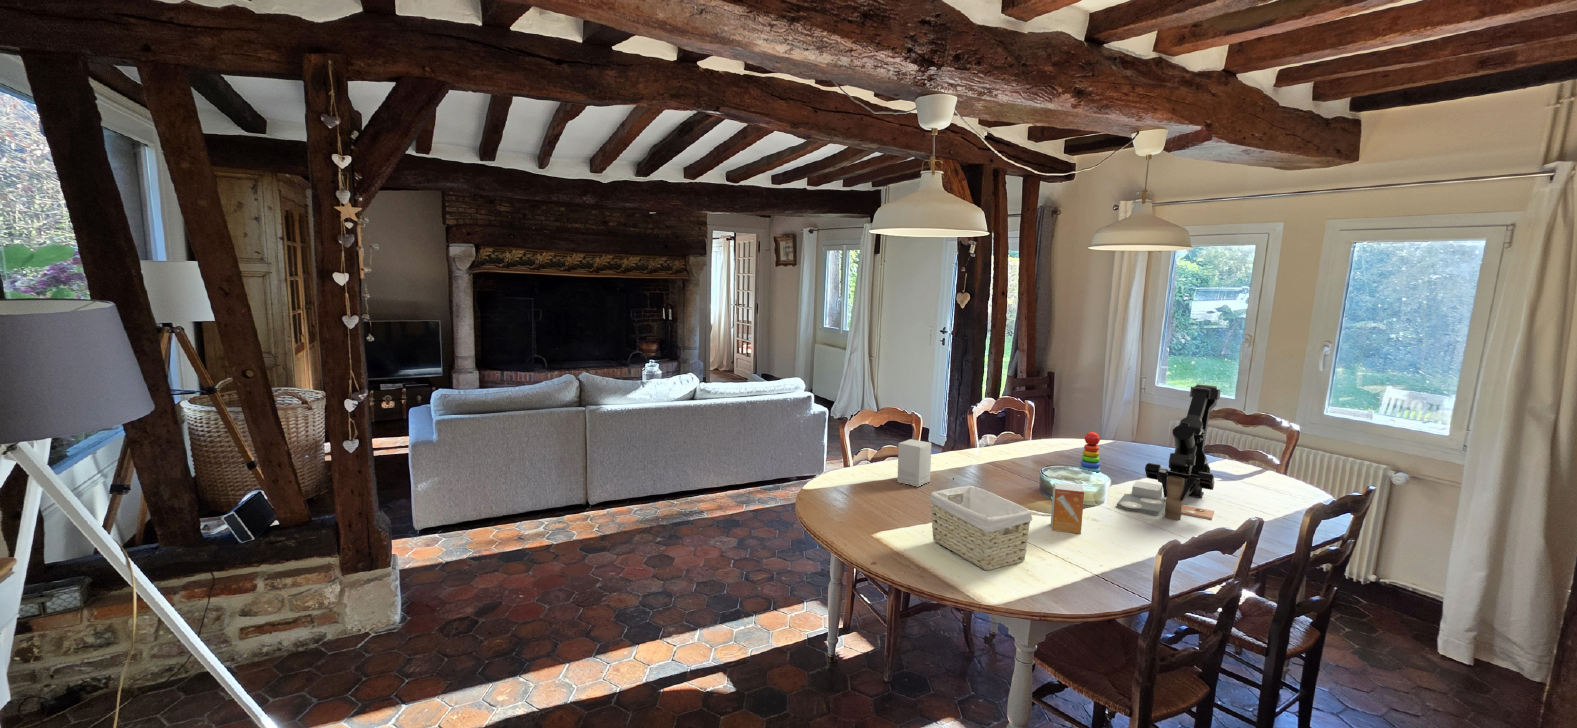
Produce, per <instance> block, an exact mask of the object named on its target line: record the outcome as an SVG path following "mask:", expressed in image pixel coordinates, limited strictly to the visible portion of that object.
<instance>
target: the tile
mask: <svg viewBox="0 0 1577 728" xmlns="http://www.w3.org/2000/svg"><path fill="white" fill-rule="evenodd" d="M1214 514H1215V510H1211V509H1206V508H1201V507H1195V506H1191V505H1185V504H1182V508H1181V515H1185V516H1190V517H1191V516H1192V517H1197V518H1201V519H1206V520H1212V519H1213V517H1214Z"/></svg>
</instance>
